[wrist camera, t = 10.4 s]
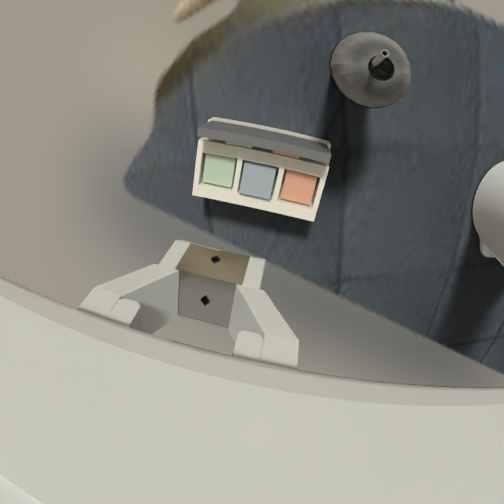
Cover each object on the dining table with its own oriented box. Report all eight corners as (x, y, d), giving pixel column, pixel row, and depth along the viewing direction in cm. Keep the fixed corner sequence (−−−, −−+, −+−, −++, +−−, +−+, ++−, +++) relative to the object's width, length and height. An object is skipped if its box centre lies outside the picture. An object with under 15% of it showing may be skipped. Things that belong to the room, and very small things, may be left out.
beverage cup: (354, 111, 34) (405, 144, 17) (308, 74, 32) (317, 67, 16) (389, 72, 30) (468, 72, 14) (344, 33, 29) (386, -8, 12)
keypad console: (329, 141, 37) (336, 156, 30) (312, 204, 41) (314, 231, 35) (213, 117, 37) (193, 126, 30) (204, 180, 42) (185, 202, 35)
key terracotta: (316, 172, 36) (317, 177, 35) (309, 198, 38) (309, 205, 36) (287, 165, 36) (286, 170, 35) (281, 192, 38) (280, 198, 37)
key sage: (238, 155, 36) (235, 159, 35) (234, 182, 38) (231, 187, 37) (210, 149, 37) (205, 153, 35) (206, 176, 39) (202, 181, 37)
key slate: (277, 165, 35) (276, 170, 34) (271, 193, 37) (269, 199, 36) (247, 159, 35) (244, 163, 34) (242, 187, 37) (239, 192, 36)
